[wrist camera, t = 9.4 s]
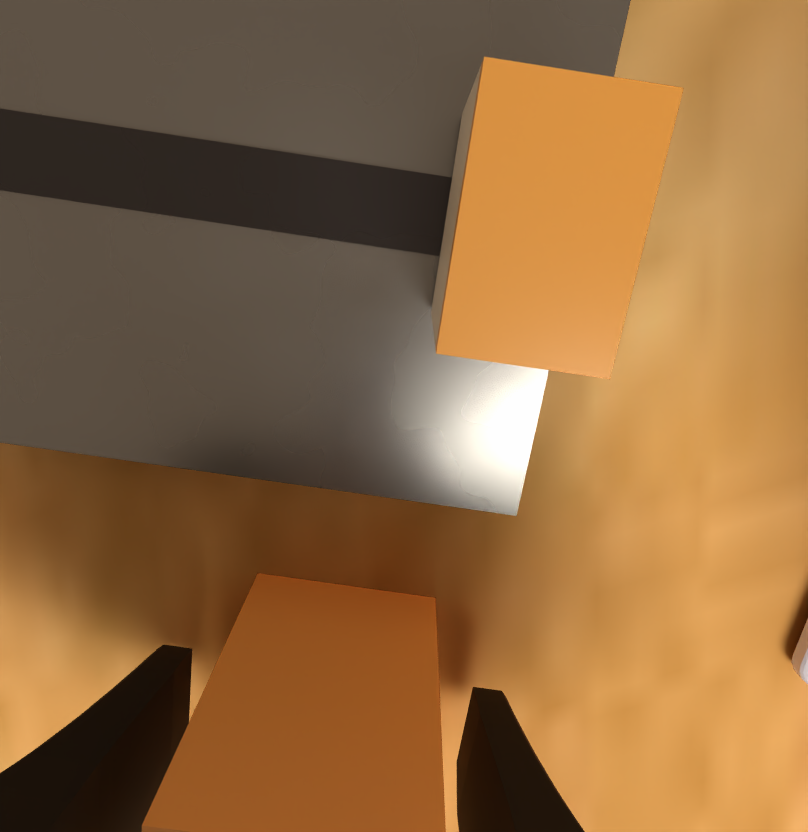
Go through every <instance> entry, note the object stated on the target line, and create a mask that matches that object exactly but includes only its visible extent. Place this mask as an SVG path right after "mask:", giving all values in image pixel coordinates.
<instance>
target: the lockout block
mask: <svg viewBox="0 0 808 832" xmlns="http://www.w3.org/2000/svg"><path fill="white" fill-rule="evenodd" d="M142 832H446V828H445V805H444V782H443V759H442V736H441V712H440V689H439V666H438V643H437V620H436V598H434V597H426V596H419V595H412V594H405V593H397V592H390V591H383V590H376V589H369V588H361V587H354V586H347V585H340V584H333V583H325V582H318V581H311V580H304V579H297V578H289V577H282V576H275V575H268V574H260V573H258V574H257V576H256V578H255V580H254V582H253V585H252V587H251V589H250V591H249V593H248V595H247V598H246V600H245V602H244V604H243V606H242V608H241V611H240V613H239V615H238V617H237V619H236V622H235V624H234V626H233V628H232V630H231V632H230V635H229V637H228V639H227V641H226V643H225V645H224V648H223V650H222V652H221V654H220V656H219V659H218V661H217V663H216V665H215V667H214V669H213V672H212V674H211V676H210V678H209V680H208V682H207V685H206V687H205V689H204V691H203V693H202V696H201V698H200V700H199V702H198V704H197V706H196V709H195V711H194V713H193V715H192V717H191V720H190V722H189V724H188V726H187V728H186V730H185V733H184V735H183V737H182V739H181V741H180V743H179V746H178V748H177V750H176V752H175V754H174V757H173V759H172V761H171V763H170V765H169V767H168V770H167V772H166V774H165V776H164V778H163V780H162V783H161V785H160V787H159V789H158V791H157V794H156V796H155V798H154V800H153V802H152V804H151V807H150V809H149V811H148V813H147V815H146V817H145V820H144V822H143V824H142Z"/></svg>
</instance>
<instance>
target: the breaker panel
mask: <svg viewBox="0 0 808 832" xmlns="http://www.w3.org/2000/svg"><path fill="white" fill-rule="evenodd" d="M630 1H631V0H0V443H7V444H14V445H21V446H28V447H35V448H43V449H50V450H57V451H64V452H71V453H78V454H85V455H92V456H99V457H106V458H113V459H120V460H127V461H134V462H141V463H148V464H155V465H162V466H169V467H176V468H183V469H190V470H197V471H204V472H211V473H219V474H226V475H233V476H240V477H247V478H254V479H261V480H268V481H275V482H282V483H289V484H296V485H303V486H310V487H317V488H324V489H331V490H338V491H345V492H352V493H359V494H366V495H373V496H380V497H387V498H395V499H402V500H409V501H416V502H423V503H430V504H437V505H444V506H451V507H458V508H465V509H472V510H479V511H486V512H493V513H500V514H507V515H514V516H517V512H518V507H519V502H520V498H521V493H522V489H523V484H524V480H525V475H526V471H527V466H528V462H529V457H530V453H531V448H532V444H533V439H534V435H535V430H536V426H537V421H538V417H539V412H540V408H541V403H542V399H543V394H544V389H545V385H546V380H547V376H548V371H549V370H544V369H537V368H530V367H523V366H517V365H510V364H503V363H496V362H489V361H483V360H476V359H469V358H462V357H455V356H448V355H442V354H436V349H435V341H434V333H433V325H432V316H431V310H432V303H433V297H434V290H435V284H436V278H437V271H438V265H439V258H440V252H441V246H442V239H443V233H444V227H445V220H446V214H447V207H448V201H449V195H450V188H451V182H452V175H453V169H454V163H455V156H456V150H457V144H458V137H459V131H460V124H461V118H462V113H463V110H464V107H465V105H466V102H467V100H468V97H469V95H470V92H471V89H472V87H473V84H474V82H475V79H476V77H477V74H478V71H479V69H480V66H481V64H482V61H483V59H484V57H490V58H496V59H502V60H509V61H515V62H522V63H528V64H534V65H541V66H547V67H554V68H560V69H566V70H573V71H579V72H585V73H592V74H598V75H605V76H611V77H614V73H615V68H616V64H617V59H618V55H619V50H620V46H621V41H622V37H623V32H624V28H625V23H626V19H627V14H628V10H629V5H630Z"/></svg>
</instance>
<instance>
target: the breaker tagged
mask: <svg viewBox="0 0 808 832" xmlns="http://www.w3.org/2000/svg"><path fill="white" fill-rule="evenodd" d="M683 89H684V88H681V87H675V86H668V85H662V84H656V83H649V82H643V81H636V80H630V79H624V78H617V77H611V76H605V75H598V74H592V73H585V72H579V71H573V70H566V69H560V68H554V67H547V66H541V65H534V64H528V63H522V62H515V61H509V60H502V59H496V58H490V57H484V59H483V61H482V64H481V66H480V69H479V71H478V74H477V77H476V79H475V82H474V84H473V87H472V89H471V92H470V95H469V97H468V100H467V102H466V105H465V107H464V110H463V113H462V118H461V124H460V131H459V137H458V144H457V150H456V156H455V163H454V169H453V175H452V182H451V188H450V195H449V201H448V207H447V214H446V220H445V227H444V233H443V239H442V246H441V252H440V258H439V265H438V271H437V278H436V284H435V290H434V297H433V303H432V310H431V316H432V325H433V333H434V341H435V349H436V354H442V355H448V356H455V357H462V358H469V359H476V360H483V361H489V362H496V363H503V364H510V365H517V366H523V367H530V368H537V369H544V370H551V371H557V372H564V373H571V374H578V375H585V376H591V377H598V378H605V379H610V377H611V373H612V369H613V365H614V361H615V357H616V353H617V349H618V345H619V341H620V338H621V334H622V330H623V326H624V322H625V318H626V314H627V310H628V306H629V302H630V298H631V294H632V290H633V286H634V282H635V278H636V274H637V270H638V267H639V263H640V259H641V255H642V251H643V247H644V243H645V239H646V235H647V231H648V227H649V223H650V219H651V215H652V211H653V207H654V203H655V199H656V196H657V192H658V188H659V184H660V180H661V176H662V172H663V168H664V164H665V160H666V156H667V152H668V148H669V144H670V140H671V136H672V132H673V128H674V125H675V121H676V117H677V113H678V109H679V105H680V101H681V97H682V93H683Z"/></svg>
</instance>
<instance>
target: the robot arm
mask: <svg viewBox="0 0 808 832" xmlns="http://www.w3.org/2000/svg"><path fill="white" fill-rule="evenodd" d="M191 663H192V649H191V648H184V647H176V646H169V645H162V646H161V647H159V648H158V649H157V650H156V651H155V652H153V653H152V654H151V655H150V656H149V657H148V658H147V659H146V660H144V661H143V662H142V663H141V664H140V665H139V666H138V667H137V668H135V669H134V670H133V671H132V672H131V673H130V674H129V675H128V676H126V677H125V678H124V679H123V680H122V681H121V682H119V683H118V684H117V685H116V686H115V687H114V688H113V689H111V690H110V691H109V692H108V693H107V694H105V695H104V696H103V697H102V698H100V699H99V700H98V701H97V702H96V703H94V704H93V705H92V706H91V707H90V708H88V709H87V710H86V711H85V712H84V713H82V714H81V715H80V716H79V717H77V718H76V719H75V720H73V721H72V722H71V723H69V724H68V725H67V726H66V727H64V728H63V729H62V730H60V731H59V732H58V733H56V734H55V735H54V736H52V737H51V738H50V739H48V740H47V741H46V742H44V743H43V744H42V745H40V746H39V747H38V748H36V749H35V750H33V751H32V752H31V753H29V754H28V755H26V756H25V757H23V758H22V759H21V760H19V761H18V762H16V763H15V764H13V765H12V766H10V767H9V768H7V769H6V770H4V771H3V772H1V773H0V832H142V824H143V822H144V820H145V817H146V815H147V813H148V811H149V809H150V807H151V804H152V802H153V800H154V798H155V796H156V794H157V791H158V789H159V787H160V785H161V783H162V780H163V778H164V776H165V774H166V772H167V770H168V767H169V765H170V763H171V761H172V759H173V757H174V754H175V752H176V750H177V748H178V746H179V743H180V741H181V739H182V737H183V735H184V733H185V730H186V728H187V726H188V724H189V707H190V685H191ZM792 665H793V668H794V670H795V671H796V672H797V674H798V675H799V676H800V677H801V678H802V679H803V680H804V681H805V682H806V683H807V684H808V619H807V621H806V624H805V626H804V629H803V631H802V634H801V636H800V639H799V641H798V644H797V646H796V649H795V651H794V654H793V657H792ZM457 816H458V825H459V832H584V830H583V829H582V827H581V826H580V824H579V823H578V822H577V820H576V818H575V817H574V815H573V814H572V812H571V811H570V809H569V808H568V806H567V805H566V803H565V802H564V800H563V799H562V797H561V796H560V794H559V792H558V791H557V789H556V788H555V786H554V785H553V783H552V781H551V779H550V778H549V776H548V774H547V773H546V771H545V769H544V768H543V766H542V764H541V763H540V761H539V759H538V757H537V756H536V754H535V752H534V750H533V749H532V747H531V745H530V743H529V741H528V739H527V738H526V736H525V734H524V732H523V730H522V728H521V726H520V724H519V722H518V721H517V719H516V717H515V715H514V713H513V711H512V709H511V707H510V705H509V702H508V700H507V698H506V696H505V695H504V694H503V692H502V691H499V690H492V689H484V688H477V687H473V690H472V694H471V699H470V703H469V708H468V713H467V717H466V722H465V726H464V731H463V735H462V740H461V745H460V749H459V754H458V758H457Z"/></svg>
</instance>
